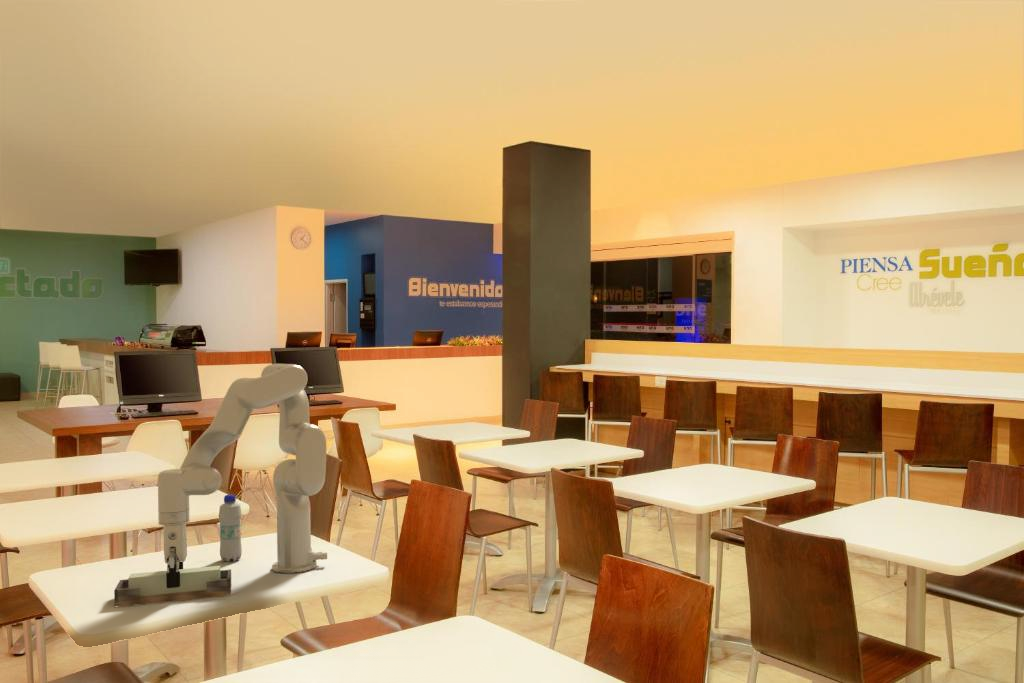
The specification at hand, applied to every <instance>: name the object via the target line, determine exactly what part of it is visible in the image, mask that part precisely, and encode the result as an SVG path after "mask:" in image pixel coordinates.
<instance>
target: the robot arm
mask: <svg viewBox="0 0 1024 683" xmlns="http://www.w3.org/2000/svg"><path fill="white" fill-rule="evenodd" d="M307 384H308V373H307V371H306V370H305V369H304V368H303V367H302V366H301V365H298V364H294V363H272V364H268V365H267V366H265V367H264V368H263V369H262V371H261V374H260V377H241V378H237V379H236V380H234V381H233V382H232V383H231V384H230V386H229V387H228V389H227V391H226V393H225V396H224V397H223V399H222V402H221V403H220V406H219V407H218V410H217V411H216V414H215V416H214V418H213V420H212V421H211V422H210V425H209V427H208V428H206V430H204V431H203V433H202V434H201V435H200V436H199V437H198V438H197V439H196V440H195V442H194V443H193V445H192V446H190V449H189V450H188V452H187V453H186V456H185V457H184V460H183V461H182V464H181V466H180V468H172V469H165V470H162V471H160V472H159V473H158V475H157V504H158V506H157V507H158V508H157V510H158V512H157V513H158V525H159V526H163V527H162V528H163V533H162V534H163V554H164V563H165V564H167V565H166V571H167V572H166V584H167V588H176V587H180V571H179V569H184V562H185V561H186V559H187V557H188V547H187V546H188V543H187V540H188V539H187V526H186V525H187V523H189V522H190V496H209V495H211V494H214V493H215V492H217V491H218V490H219V489H220V487H221V486H222V483H223V479H222V474H221V473H220V472H219V471H218V469H216V468H214V467H211V464H212V462H213V461H214V460H215V458H216V457H217V455H218V454H219V453H220V452H221V451H222V450H223V449H224V448H226V447H228V446H230V445H231V444H233V443H235V442H236V441H238V440H239V439H240V437H241V436H242V435H243V432H244V430H245V427H246V426H247V424H248V421H249V419H250V417H251V416H252V413H253V411H254V410H259V409H260V410H261V409H265V408H268V407H271V406H273V405H276V404H278V408H279V423H278V424H279V425H278V445H279V448H280V450H281V451H282V452H283V453H285V454H287V455H292V456H295V458H294V459H293V458H288V459H285V460H282V461H281V462H279V463H278V464H277V465H276V466H275V468H274V471H273V474H272V475H273V476H272V481H273V488H274V492H275V499H276V500H275V501H276V502H275V503H276V544H277V546H276V550H277V551H276V552H277V553H276V554H277V555H276V556H277V557H276V558H277V561H275V562H274V563H272V565H271V569H272V571H274V572H275V571H276V572H275V573H279V572H281V573H280V574H294V573H295V572H297V573H303V572H307V570H308V571H310V570H313V569H314V568H316V567H317V560H318V561H320V560H322V561H323V560H327V559H328V553H327V552H323V551H318V552H315V551H313V549H312V545H311V544H312V542H311V541H312V537H311V536H312V535H311V534H312V533H311V528H312V527H311V500H310V497H312V496H314V495H317V494H318V493H319V492H320V491H321V490H322V488H323V487H324V485H325V482H326V471H327V439H326V435H325V433H324V431H323V430H322V429H321V428H320V426H318V425H315V424H312V423H310V402H309V397H308V395H307V393H306V389H305V388H306V387H307ZM302 571H303V572H302ZM295 574H296V573H295Z"/></svg>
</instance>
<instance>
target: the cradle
mask: <svg viewBox="0 0 1024 683" xmlns="http://www.w3.org/2000/svg"><path fill="white" fill-rule="evenodd" d="M113 591H114V592H113V593H114V599H113V600H114V607H115V606H121V607H127V606H126V605H130V606H135V605H134V604H140V605H150V604H156V603H157V604H158V603H165V602H166V603H167V602H177V601H186V600H196V599H206V598H205V597H207V598H213V597H214V596H216V597H224V596H223V595H226V596H231V595H230V594H231V593H232V569H231V568H229V569H220V579H217V580H207V590H199V591H189V592H180V593H170V594H160V595H150V596H140V587H136V588H129V584H128V578H127V579H120V580H119V581H118V583H117V585H116V587H115V589H114V590H113ZM214 598H215V597H214ZM146 603H148V604H146Z"/></svg>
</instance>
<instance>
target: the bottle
mask: <svg viewBox="0 0 1024 683" xmlns="http://www.w3.org/2000/svg"><path fill="white" fill-rule="evenodd" d="M236 500H237V498H236V495H235V494H231V493H230V494H226V495H225V496H224V497H223V503H222V504H221V505H220V506H219V510H218V522H219V532H220V533H219V534H220V535H219V536H220V538H219V539H220V542H219V556H220V559H221V561H222V562H227V563H229V562H228V561H230V562H231V559H232V562H236V561H237V559H239V560H240V559H241V557H242V554H243V552H242V551H243V549H242V534H241V533H242V532H241V530H242V529H241V526H242V524H241V521H242V517H243V516H242V515H243V514H242V506H241V504H240V503H238V502H236Z"/></svg>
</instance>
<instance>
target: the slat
mask: <svg viewBox="0 0 1024 683" xmlns="http://www.w3.org/2000/svg"><path fill="white" fill-rule="evenodd" d="M220 570H221V565H213V566H212V565H210V566H200V567H193V568H192V567H191V568H183V569H179V571H180V587H176V588H167V584H166V572H167V570H160V571H159V570H158V571H149V572H148V571H147V572H137V573H130V574H129V576H128V578H127V579H128V584H129V588H136V587H140V596H150V595H160V594H170V593H180V592H189V591H199V590H207V580H217V579H220Z"/></svg>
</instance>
